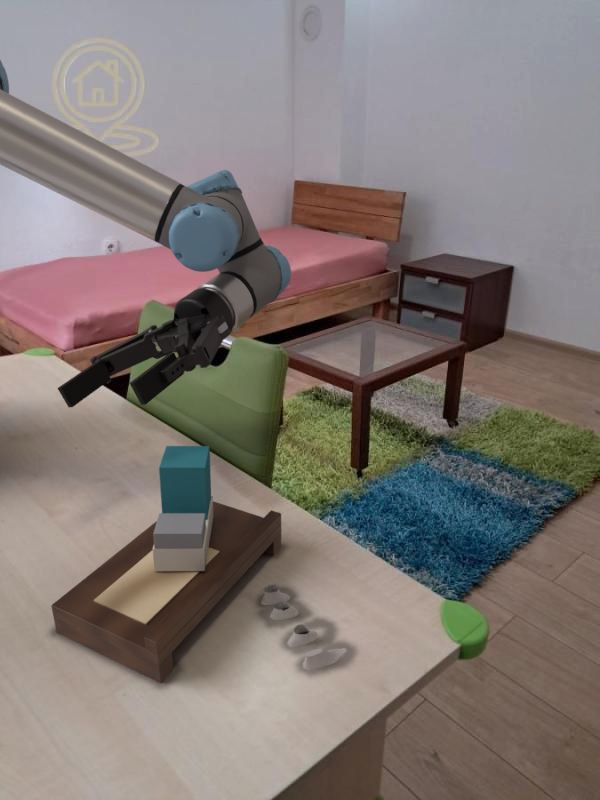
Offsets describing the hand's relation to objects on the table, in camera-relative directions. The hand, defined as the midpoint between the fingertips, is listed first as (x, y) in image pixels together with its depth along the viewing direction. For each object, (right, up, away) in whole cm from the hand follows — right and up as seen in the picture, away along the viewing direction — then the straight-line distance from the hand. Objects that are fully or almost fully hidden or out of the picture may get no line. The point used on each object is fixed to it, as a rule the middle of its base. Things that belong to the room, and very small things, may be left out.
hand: (98, 396), depth 71 cm
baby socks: (+23, -26, -2) cm, 34 cm away
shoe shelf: (+8, -23, +4) cm, 25 cm away
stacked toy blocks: (+9, -17, +5) cm, 20 cm away
